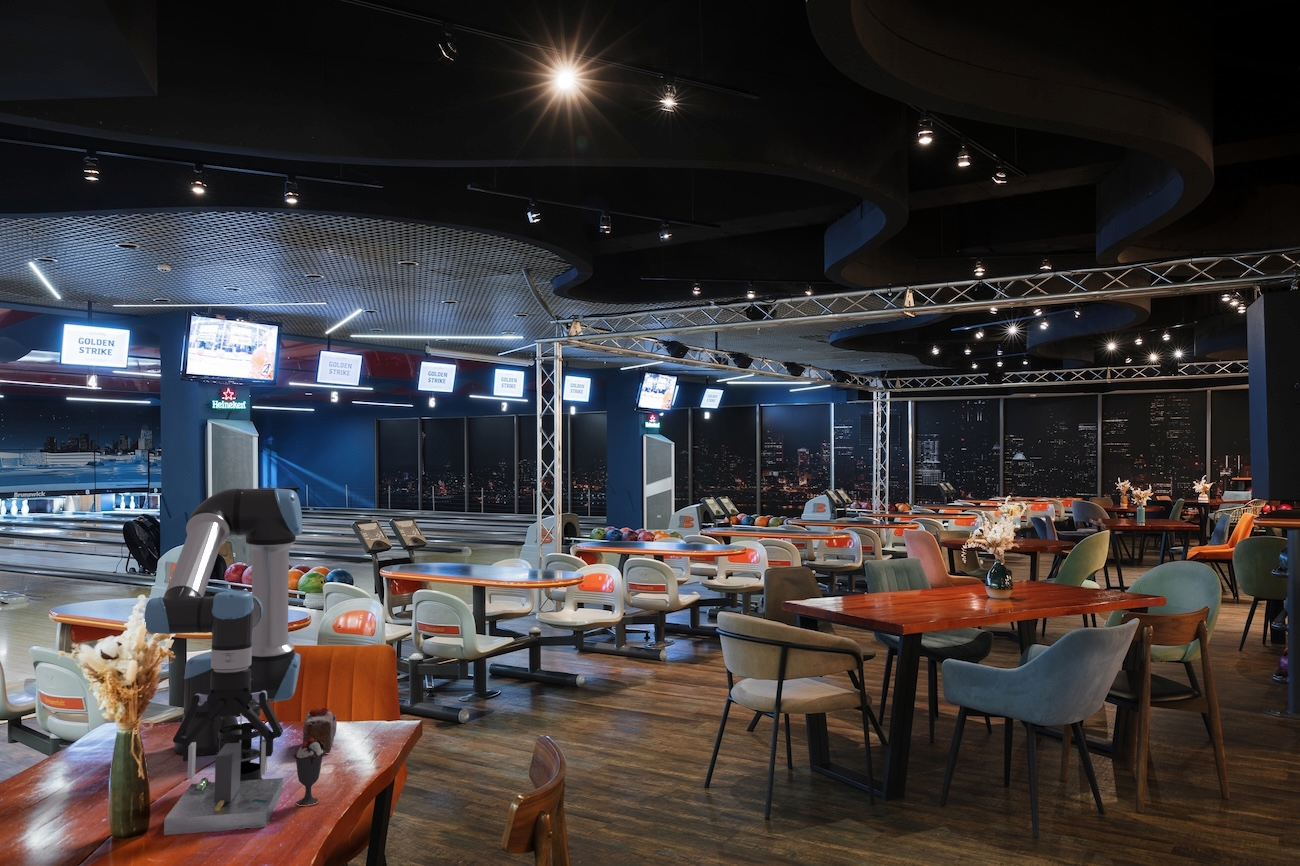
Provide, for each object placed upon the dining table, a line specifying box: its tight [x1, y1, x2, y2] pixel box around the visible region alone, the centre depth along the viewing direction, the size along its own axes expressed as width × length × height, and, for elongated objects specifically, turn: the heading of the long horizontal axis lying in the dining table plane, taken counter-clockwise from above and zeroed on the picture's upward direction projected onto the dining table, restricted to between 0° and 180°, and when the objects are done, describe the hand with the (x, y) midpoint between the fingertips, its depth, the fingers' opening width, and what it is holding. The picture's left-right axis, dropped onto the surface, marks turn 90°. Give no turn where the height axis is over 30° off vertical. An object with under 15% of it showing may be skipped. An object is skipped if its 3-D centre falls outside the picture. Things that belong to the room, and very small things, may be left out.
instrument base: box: [163, 777, 284, 836], centre depth 184 cm, size 20×18×5 cm
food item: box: [302, 707, 338, 754], centre depth 228 cm, size 14×8×10 cm, turn 19°
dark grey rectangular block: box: [214, 743, 241, 811], centre depth 182 cm, size 14×3×9 cm, turn 13°
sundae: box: [291, 732, 326, 805], centre depth 190 cm, size 7×7×15 cm
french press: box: [217, 678, 264, 781], centre depth 202 cm, size 12×9×23 cm
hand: (227, 775), depth 184 cm, fingers open, 13 cm apart
